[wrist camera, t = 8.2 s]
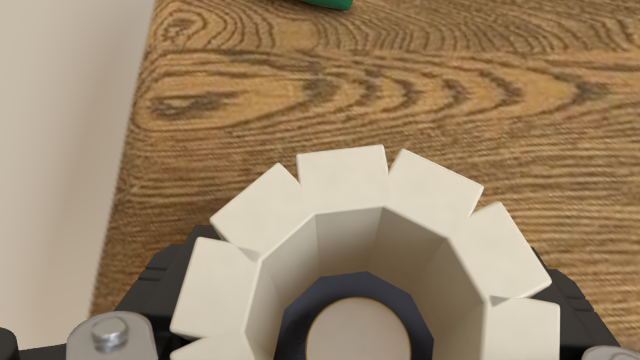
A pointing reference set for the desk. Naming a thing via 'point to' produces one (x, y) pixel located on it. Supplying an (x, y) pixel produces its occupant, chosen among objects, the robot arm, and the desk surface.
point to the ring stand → (353, 322)
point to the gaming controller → (332, 3)
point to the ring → (366, 258)
